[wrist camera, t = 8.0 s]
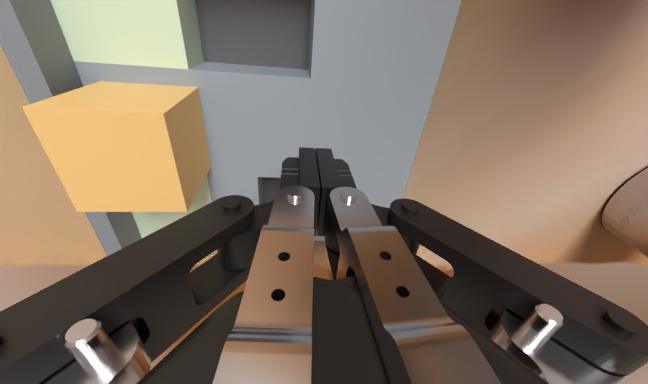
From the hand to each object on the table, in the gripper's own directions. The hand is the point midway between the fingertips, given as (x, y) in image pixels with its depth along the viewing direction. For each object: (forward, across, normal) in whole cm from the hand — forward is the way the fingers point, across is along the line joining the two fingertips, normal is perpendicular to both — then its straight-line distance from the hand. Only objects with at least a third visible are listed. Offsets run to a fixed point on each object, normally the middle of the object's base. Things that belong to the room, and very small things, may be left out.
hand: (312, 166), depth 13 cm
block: (+3, +8, 0) cm, 9 cm away
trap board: (+7, +3, 0) cm, 7 cm away
